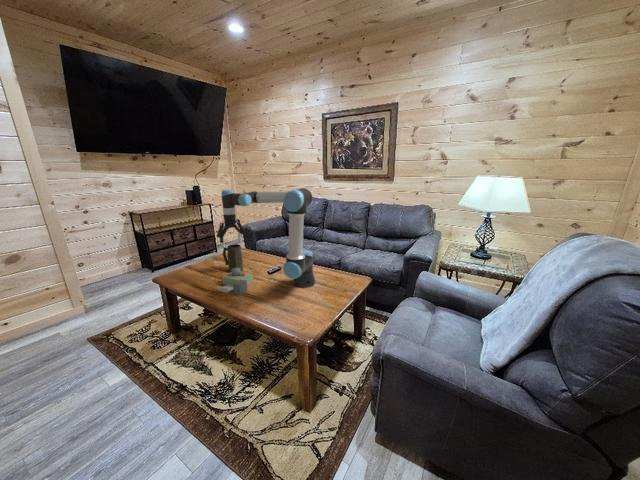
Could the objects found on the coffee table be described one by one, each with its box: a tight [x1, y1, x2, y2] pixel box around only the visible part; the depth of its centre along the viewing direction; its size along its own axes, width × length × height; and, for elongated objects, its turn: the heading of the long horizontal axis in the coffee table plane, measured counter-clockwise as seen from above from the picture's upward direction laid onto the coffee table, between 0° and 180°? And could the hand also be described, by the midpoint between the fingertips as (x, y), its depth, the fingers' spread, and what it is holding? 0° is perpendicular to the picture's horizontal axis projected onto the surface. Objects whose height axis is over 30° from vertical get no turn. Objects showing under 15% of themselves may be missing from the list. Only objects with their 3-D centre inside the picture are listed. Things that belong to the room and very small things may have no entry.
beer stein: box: [222, 243, 244, 273], centre depth 200 cm, size 15×11×20 cm
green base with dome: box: [216, 268, 254, 294], centre depth 176 cm, size 16×22×9 cm
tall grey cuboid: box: [232, 279, 248, 296], centre depth 167 cm, size 5×7×7 cm
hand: (232, 244), depth 178 cm, fingers open, 13 cm apart
